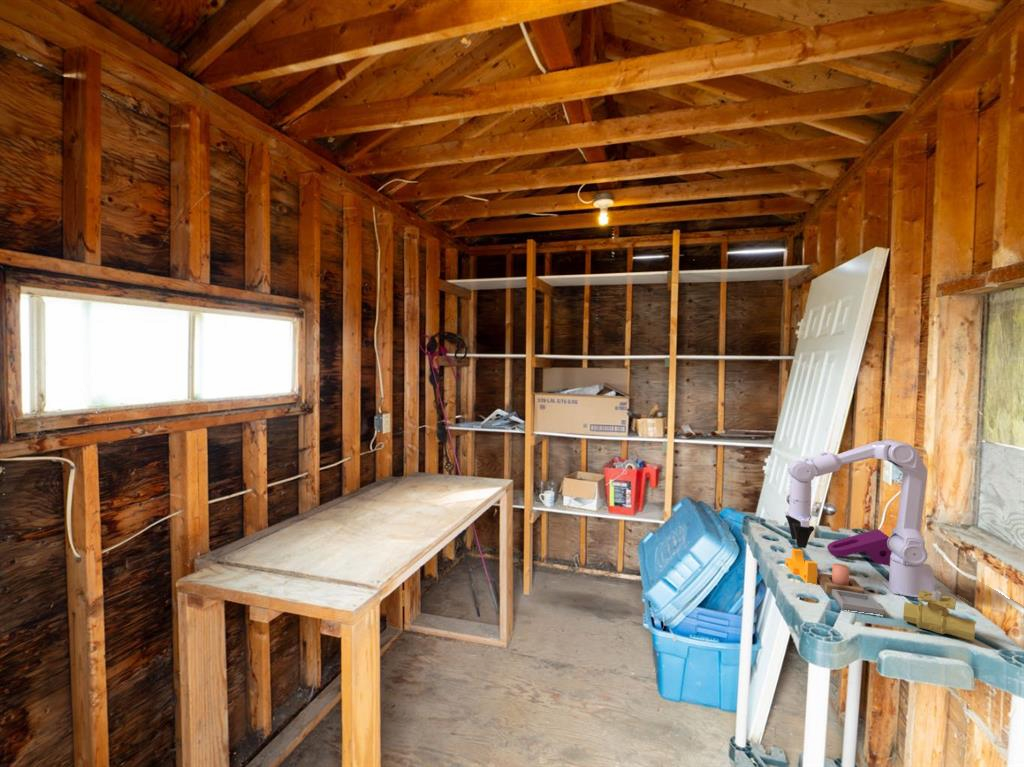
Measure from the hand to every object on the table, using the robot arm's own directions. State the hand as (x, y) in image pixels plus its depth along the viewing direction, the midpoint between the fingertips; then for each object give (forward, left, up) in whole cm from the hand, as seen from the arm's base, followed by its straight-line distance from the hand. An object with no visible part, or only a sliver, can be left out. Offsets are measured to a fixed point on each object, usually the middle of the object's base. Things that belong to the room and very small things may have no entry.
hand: (798, 543), depth 143 cm
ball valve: (-25, +23, -10) cm, 36 cm away
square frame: (-9, +7, -10) cm, 15 cm away
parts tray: (-10, +17, -10) cm, 22 cm away
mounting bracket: (-24, -27, -10) cm, 38 cm away
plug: (-9, +7, -10) cm, 15 cm away
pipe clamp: (-1, 0, -10) cm, 10 cm away
